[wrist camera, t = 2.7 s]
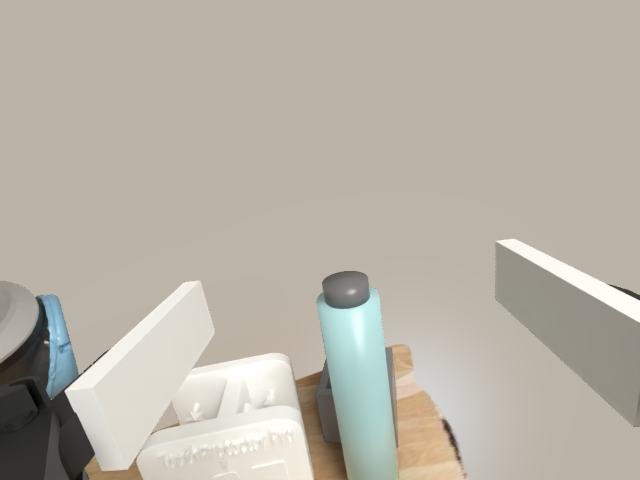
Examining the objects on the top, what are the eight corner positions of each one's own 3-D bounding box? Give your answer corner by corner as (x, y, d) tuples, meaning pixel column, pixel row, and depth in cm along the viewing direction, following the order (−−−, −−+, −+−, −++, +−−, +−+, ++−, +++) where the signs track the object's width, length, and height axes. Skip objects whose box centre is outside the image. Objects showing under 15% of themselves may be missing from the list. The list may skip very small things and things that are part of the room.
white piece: (310, 422, 40) (295, 346, 37) (319, 512, 30) (299, 418, 27) (195, 447, 39) (169, 371, 36) (163, 548, 29) (123, 456, 26)
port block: (324, 441, 37) (315, 395, 35) (335, 388, 45) (329, 347, 43) (398, 447, 35) (392, 398, 33) (396, 390, 43) (391, 347, 41)
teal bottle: (348, 519, 29) (306, 296, 23) (353, 466, 34) (320, 269, 27) (402, 526, 28) (375, 294, 21) (400, 471, 33) (377, 265, 26)
